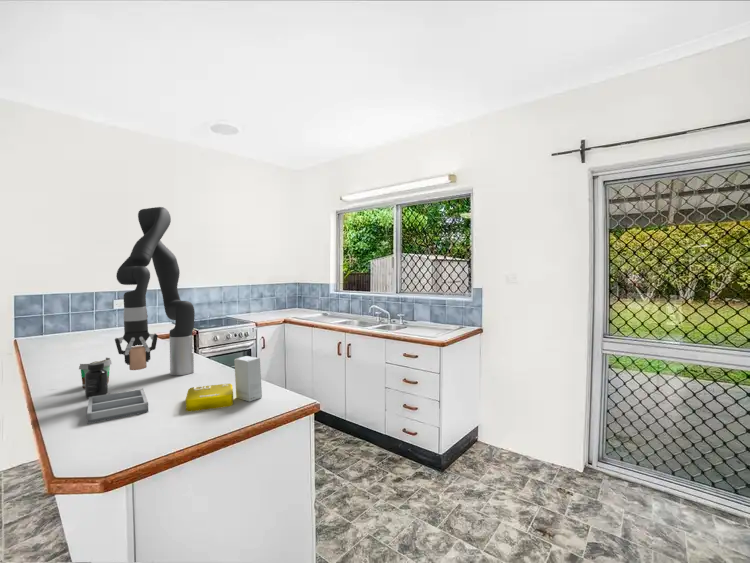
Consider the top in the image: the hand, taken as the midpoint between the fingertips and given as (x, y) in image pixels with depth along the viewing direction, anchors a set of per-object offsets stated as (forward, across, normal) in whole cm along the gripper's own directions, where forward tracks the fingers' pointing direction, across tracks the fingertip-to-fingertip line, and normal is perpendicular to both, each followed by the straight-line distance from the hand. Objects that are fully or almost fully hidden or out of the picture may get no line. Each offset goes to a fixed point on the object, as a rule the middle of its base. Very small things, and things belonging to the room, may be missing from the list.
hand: (137, 362), depth 140 cm
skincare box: (+13, -31, +31) cm, 45 cm away
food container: (+12, +12, -22) cm, 28 cm away
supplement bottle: (+12, +13, -7) cm, 19 cm away
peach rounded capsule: (+2, 0, 0) cm, 2 cm away
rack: (+12, +7, +14) cm, 20 cm away
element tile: (+13, -19, +26) cm, 35 cm away
